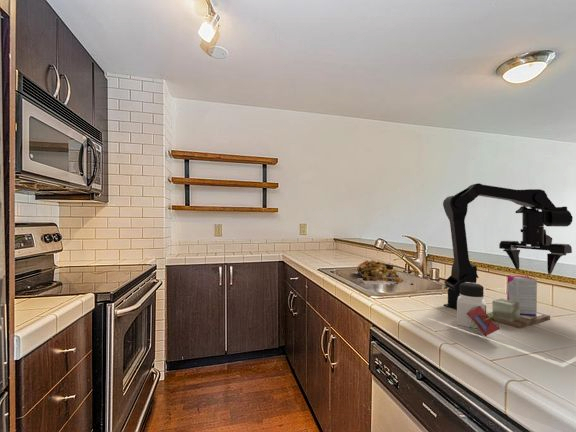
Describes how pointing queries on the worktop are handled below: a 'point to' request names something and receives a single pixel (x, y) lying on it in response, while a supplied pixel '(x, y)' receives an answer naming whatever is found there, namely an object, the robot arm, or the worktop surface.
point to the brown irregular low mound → (378, 273)
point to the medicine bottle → (469, 302)
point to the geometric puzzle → (482, 320)
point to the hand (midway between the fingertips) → (533, 271)
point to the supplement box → (523, 293)
